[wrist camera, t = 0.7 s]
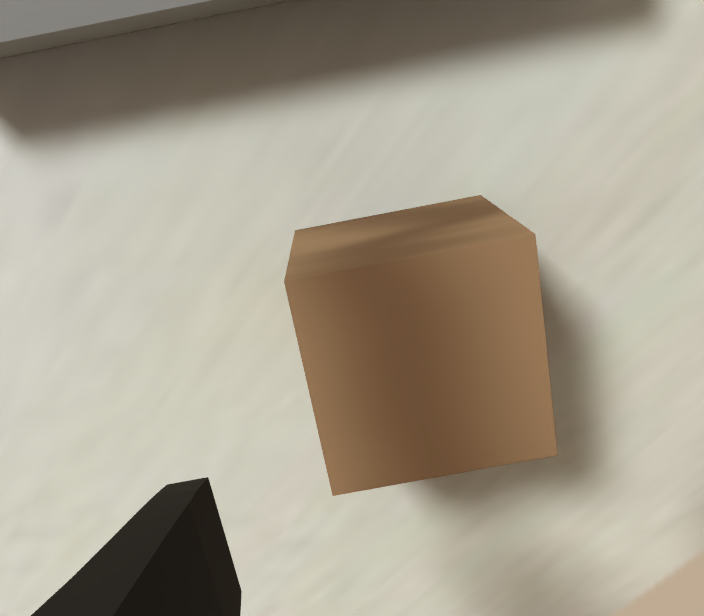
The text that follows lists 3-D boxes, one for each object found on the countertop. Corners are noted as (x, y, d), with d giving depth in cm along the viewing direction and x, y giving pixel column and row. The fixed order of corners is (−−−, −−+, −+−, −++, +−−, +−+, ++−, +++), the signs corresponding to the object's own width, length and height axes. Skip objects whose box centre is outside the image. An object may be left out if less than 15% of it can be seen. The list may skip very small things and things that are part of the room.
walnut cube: (480, 194, 18) (535, 234, 13) (501, 364, 19) (557, 454, 15) (295, 230, 18) (284, 281, 13) (331, 396, 20) (332, 495, 15)
